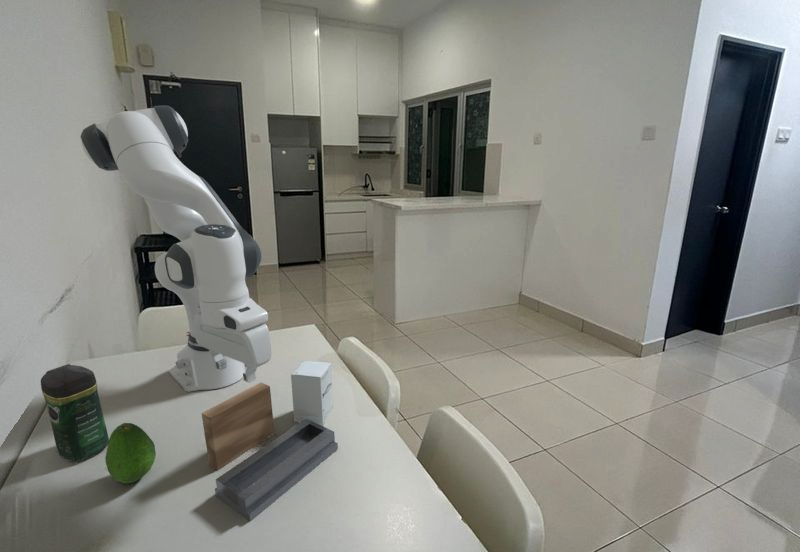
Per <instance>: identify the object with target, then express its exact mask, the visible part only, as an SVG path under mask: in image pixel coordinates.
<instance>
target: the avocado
mask: <svg viewBox="0 0 800 552" xmlns="http://www.w3.org/2000/svg"><path fill="white" fill-rule="evenodd" d="M156 454H157V451H156V445H155V443H154V441H153V440H152V438H151V437H150V436H149V435H148V433H147V432H146V431H144V429H142V427H140V426H138V425H137V424H134V423H131V422H124V423H122V424H120V425H118V426H117V427H115V429H114V430H113V431H112V432H111V433H110V436H109V443H108V446H107V447H106V453H105V458H104V460H105V465H106V469H107V471H108V473H109V474H110V477H112V479H114V480H115V481H117V482H118V483H123V484H130V483H135V482H136V481H138V480H140V479H142V478H143V477H145V475H146V474H147V473H148V472H150V470H151V468H152V466H154V463H155V459H156Z"/></svg>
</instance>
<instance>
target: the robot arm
mask: <svg viewBox="0 0 800 552" xmlns="http://www.w3.org/2000/svg"><path fill="white" fill-rule="evenodd" d="M188 132H189V131H188V128H187V124H186V123H185V121H184V119H183V118H182V116H181V115H180V114H179V113H178V112H177V111H176V110H175V109H174V108H173V107H171V106H170V105H164V104H163V105H154V106H153V107H149V108H143V109H136V110H125V111H124V110H123V111H120V112H118V113H115V114H114V115H112V116H111V117H110V118H109V119H105V120H104V121H101V122H99V123H97V124H96V123H92V124H90V125H88V126H87V127H85V128H84V129H82V131H81V134H80V136H79V137H80V140H81V146H82V150H83V152H84V153H85V155H86V156H87V158H88V159H89V160H90V161H91V162H92V163H94V164H95V166H97V167H98V168H99V169H101V170H104V171H107V172H112V171H113V172H114V171H119V173H120V175H121V177H122V179H123V180H124V182H125V184H126V185H127V186H128V188H129V189H130V190H132V191H133V193H135V194H136V195H138V196H141V197H142V198H143V200H144V202H145V203H146V206H147V207H148V209H149V212H150V213H151V215H152V216H153V219H154V220H155V223H156V224H157V226H158V228H159V229H160V230H161V231H163V233H166V234H167V235H171V236H173V237H175V238H177V239H178V240H179V242H177V243H173V245H171V246H170V248H168V251H166V252H164V253H162V254H161V255H159V256H158V257H157V259H156V260H155V263H154V274H155V277H156V279H157V281H158V282H159V283H160V285H161V286H162V287H163V288H165V289H166V290H168V291H171V292H173V293H174V294H176V295H177V296H178V299H180V300H181V302H182V304H183V307H184V309H185V312H186V313H185V314H186V316H187V321H188V327H189V331H186V334H187V335H186V337H188V338H187V344H186V345H185V346H184V347H183V348H182V349H181V350H179V352H178V353H177V355H176V358H177V360H176V361H175V365H174V366H173V367H172V368H170V369H169V374H170V376H171V377H172V378H173V379H174V381H176V382H177V383H178V384H179V386H181V387H182V388H183V390H184V391H185V392H195V391H201V390H202V391H203V390H215V389H216V390H217V389H221V388H225V387H228V386H231V385H233V384H235V383H237V382H239V381H240V380H241V379H242V378H243V381H244V382H247V383H250V384H251V383H252V382H254V381H256V379H257V377H256V371H257V369H258V368H260V367H261V366H263V365H265V364H267V363H268V362H269V361H271V358H272V353H273V352H272V343H271V334H270V329H269V327H268V325H267V324H266V322H268V321H269V314H268V312H267V310H266V309H264V308H263V307H262V306H260V305H259V304H258V303H257V302H256V301H254V300H253V298H251V297H250V293H249V288H248V286H247V284H246V283H247V282H246V279H250V278H252V277H253V276H254V275H255V273H256V272H257V270H258V269H259V267H260V265H261V262H262V251H261V248H260V246H259V244H258V243H257V241H256V240H255V239H254V238H253V236H252V235H251V234H249V233H248V231H246V230H245V229H244V228H243V227H242V226H241V225H240V223H239V222H238V221H237V219H236V218H235V216H234V215H233V213H231V211H230V209H228V207H227V205H226V204H225V202H223V201H222V199H221V198H220V196H219V195H218V194H217V193H216V191H215V190H214V189H213V187H212V186H211V185H210V184H209V183H208V181H207V180H205V178H203V177H202V176H200V175H198V174H196V173H195V172H194V171H192V170H191V169H189V168H188V167H187V166H186V165H184V163H183V162H182V161H181V160H180V159H179V158H182V153H183V151H184V150H185V149H186V148H187V146H188V143H189V138H188V136H189V133H188ZM175 152H176V153H177V155H178V157H179V158H178V157H177V156H176V154H175Z"/></svg>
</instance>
